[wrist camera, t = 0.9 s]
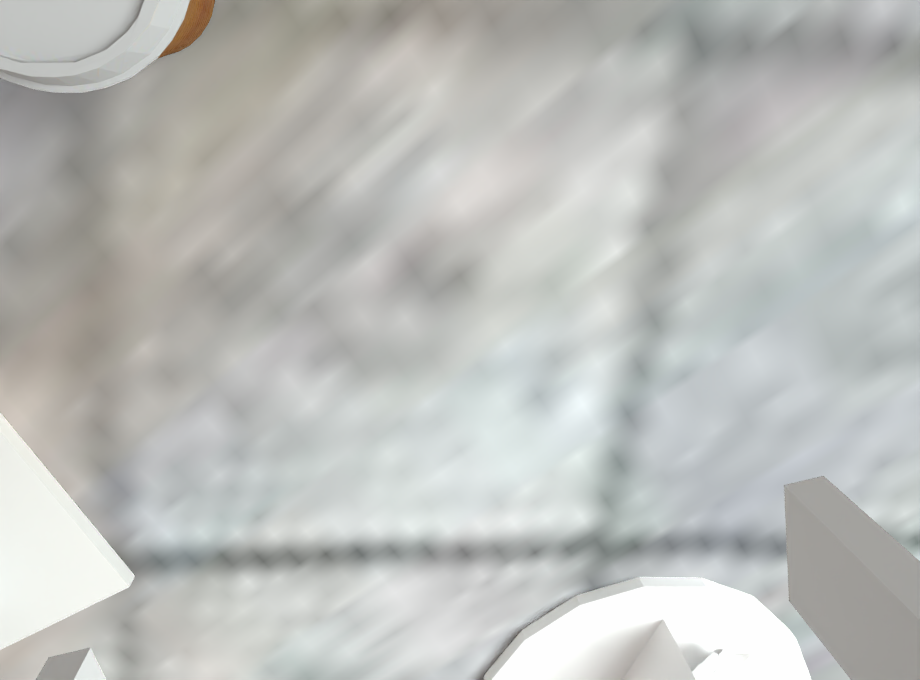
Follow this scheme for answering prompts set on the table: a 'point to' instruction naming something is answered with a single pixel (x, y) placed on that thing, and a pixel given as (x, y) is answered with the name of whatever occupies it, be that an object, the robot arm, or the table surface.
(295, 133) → the table surface
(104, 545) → the board
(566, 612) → the dish
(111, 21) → the disposable coffee cup
